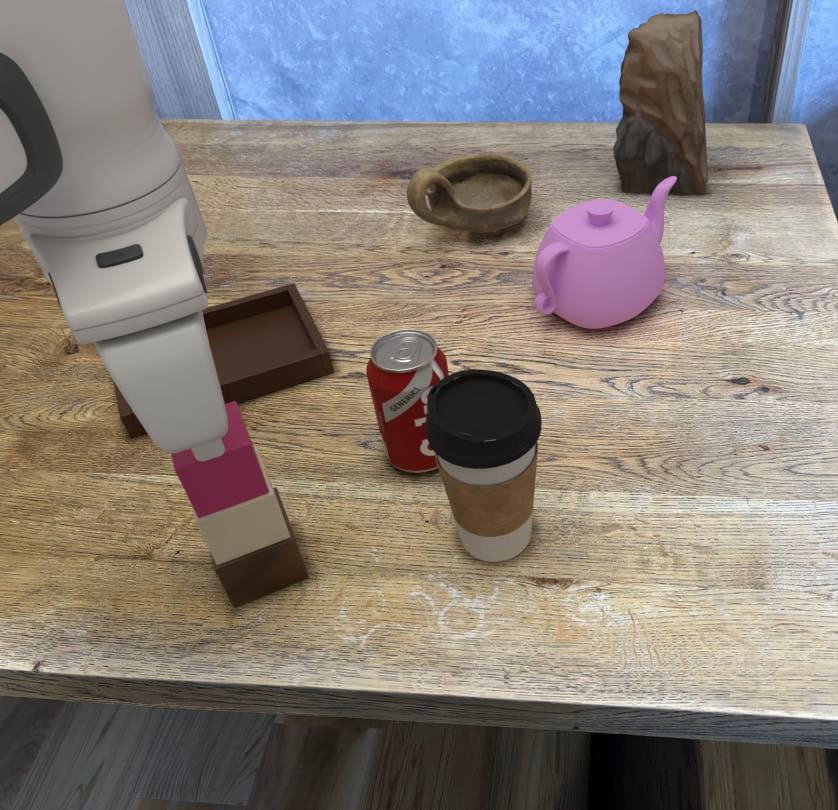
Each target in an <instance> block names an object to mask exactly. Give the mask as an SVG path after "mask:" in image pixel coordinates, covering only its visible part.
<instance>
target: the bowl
mask: <svg viewBox="0 0 838 810" xmlns="http://www.w3.org/2000/svg"><path fill="white" fill-rule="evenodd" d="M532 182H533V175H532V173H531V170H530V169H529V168H528V167H527V166H526V165H525V164H523V163H522V162H521V161H519V160H517V159H515V158H514V157H512V156H509V155H506V154H503V153H496V152H495V153H494V152H485V153H484V152H483V153H478V154H467V155H457V156H455V157H452V158H449V159H447V160H445V161H442V162H441V163H438V165H436V166H435V167H434V168H432V169H431V168H428V167H426V168H422V169H419V170H418V171H416V172H415V173H414V174H413V175H412V177H411V178H410V180H409V181H408V185H407V188H406V200H407V203H408V205H409V207H410V209H411V211H412V213H414V214H415V215H416V216H417V217H418V218H420V219H421V220H422V221H424V222H427V223H429V224H431V225H432V224H433V225H435V226H440V227H445V228H447V229H453V230H458V231H463V232H468V233H477V234H479V233H482V234H483V233H491V232H492V233H496V232H497V231H499V230H502V229H506V228H509V227H511V226H513V225H514V226H515V225H516V224H519V223H520V222H522V221H523V220H524V218H525V217H526V215H527V213H528V212H529V209H530V206H531V202H532V197H533V192H532V191H533V190H532ZM426 197H427V199H428V204H429V206H428V204H427V199H426Z"/></svg>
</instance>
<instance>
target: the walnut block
mask: <svg viewBox="0 0 838 810" xmlns="http://www.w3.org/2000/svg"><path fill="white" fill-rule="evenodd" d="M273 489H274V491H275V494H276V497H277V500H278V503H279V506H280V508H281V511H282V514H283V517H284V520H285V523H286V526H287V528H288V531H289V534H290V538H288V539H285V540H282V541H280V542H277V543H274V544H272V545H269V546H267V547H264V548H261V549H259V550H256V551H253V552H251V553H248V554H246V555H243V556H240V557H238V558H235V559H232V560H230V561H227V562H225V563H222V564H219V565H217V564H216V562H215V560H214V558H213V556H212V554H211V552H210V551H209V554H210V558H211V562H212V566H213V570H214V571H215V574H216V576H217V578H218V580H219V582H220V584H221V586H222V588H223V590H224V592H225V594H226V596H227V597H228V600H229V601H230V603H231V606H232V609H233V608H234V609H235V608H238V607H241V606H242V605H246V604H247V603H250V602H252V601H255V600H258V599H260V598H262V597H266V596H268V595H270V594H272V593H275V592H278V591H280V590H284V589H285V588H287V587H290V586H293V585H295V584H297V583H300V582H303V581H305V580H308V579H310V575H309V572H308V569H307V566H306V564H305V560H304V558H303V555H302V552H301V550H300V547H299V543H298V541H297V539H296V535H295V532H294V530H293V527H292V525H291V522H290V519H289V516H288V514H287V511H286V509H285V506H284V503H283V501H282V498H281V496H280V492H279V490H278V487H277V486H274V487H273Z"/></svg>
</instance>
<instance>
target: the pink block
mask: <svg viewBox="0 0 838 810" xmlns="http://www.w3.org/2000/svg"><path fill="white" fill-rule="evenodd" d="M238 404H239V403H238ZM238 404H237V402H236V401H234V402H230V403H227V404H225V408H226V413H227V418H228V432H227V433H226V435H224V436H223V437H221V438H222V441H223V444H224V447H225V452H224V454H223V455H221V456H219V457H216V458H213V459H210V460H207V461H198V460H197V459H196V458H195V456H194V454H193V452H192V450H191V449H188V450H185V451H182V452H178V453H170V457H171V460H172V465H173V470H174V471H175V474H176V475H177V478H178V479H179V483H180V484H181V486H182V488H183V491H184V492H185V494H186V497H187V498H188V500H189V503H190V505H191V504H192V506H193V508H194V510H195V512H196V514H197V516H198V518H201V517H203V516H206V515H209V514H212V513H215V512H217V511H220V510H223V509H226V508H228V507H231V506H234V505H237V504H239V503H242V502H245V501H248V500H251V499H253V498H256V497H259V496H262V495H264V494H267V493H269V489H268V486H267V483H266V481H265V478H264V475H263V472H262V469H261V466H260V463H259V460H258V457H257V454H256V451H255V449H254V447H255V446H254V443H253V441H252V438H251V436H250V434H249V431H248V427H247V425H246V422H245V420H244V418H243V415H242V413H241V410H240V407H239V405H238ZM192 506H191V507H192Z"/></svg>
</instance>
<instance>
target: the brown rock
mask: <svg viewBox="0 0 838 810" xmlns="http://www.w3.org/2000/svg"><path fill="white" fill-rule="evenodd" d="M702 22H703V21H702V17H701V16H700V15H699V11H698V10H696V9H695V10H692V11H690V12H689V13H677V14H674V13H668V12H667V13H662V12H660V13H657V14H654V15H651V16H650V17H648V20H647V21H646V22H642V23H640V24H639V26H638V27H633V28H632V29H631V30H629V31H628V33H627V40H628V44H627V46H626V50H625V51H624V55H623V60H622V62H621V65H620V76H619V82H618V87H619V91H618V92H619V93H618V95H619V102H620V103H621V106H622V117H621V119H620V121H619V122H618V125H617V127H616V128H615V134H616V140H615V142H614V145H613V148H612V149H613V158H614V159H615V166H616V170H617V174H618V176H619V179H620V183H621V188H620V189H621V192H624V193H628V194H644V193H645V194H647V193H648V194H650V195H652V194H653V192H654V190H655V188H656V187H657V186H658V184H660V183H661V182H662V181H663V180H665V179H666V178H668V177H671V176H676V177H677V180H676V182H675V184H674V185H673V186H672V188H671V189H670V191H669V193H668V195H669V194H671V195H674V196H675V195H676V196H689V195H697V196H698V195H703V196H704V195H707V189H706V186H707V183H708V181H709V169H708V157H707V156H708V152H707V129H706V109H705V98H704V89H703V65H704V63H703V61H704V60H703V54H704V44H703V27H702V26H703V25H702Z"/></svg>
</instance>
